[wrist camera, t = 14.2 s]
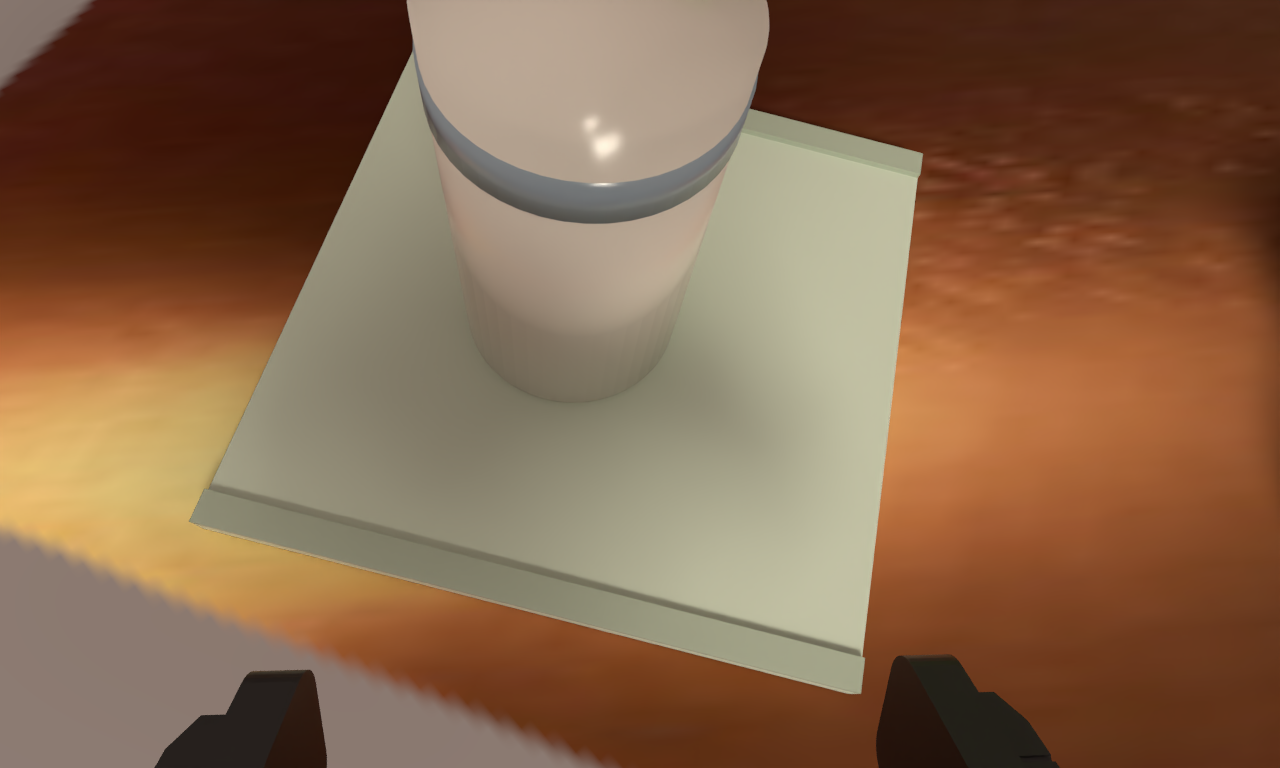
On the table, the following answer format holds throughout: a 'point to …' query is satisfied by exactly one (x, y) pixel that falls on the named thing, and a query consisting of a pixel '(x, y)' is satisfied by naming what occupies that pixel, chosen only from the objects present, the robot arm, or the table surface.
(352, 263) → the mat
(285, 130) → the table surface
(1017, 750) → the robot arm
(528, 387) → the cream domed container
